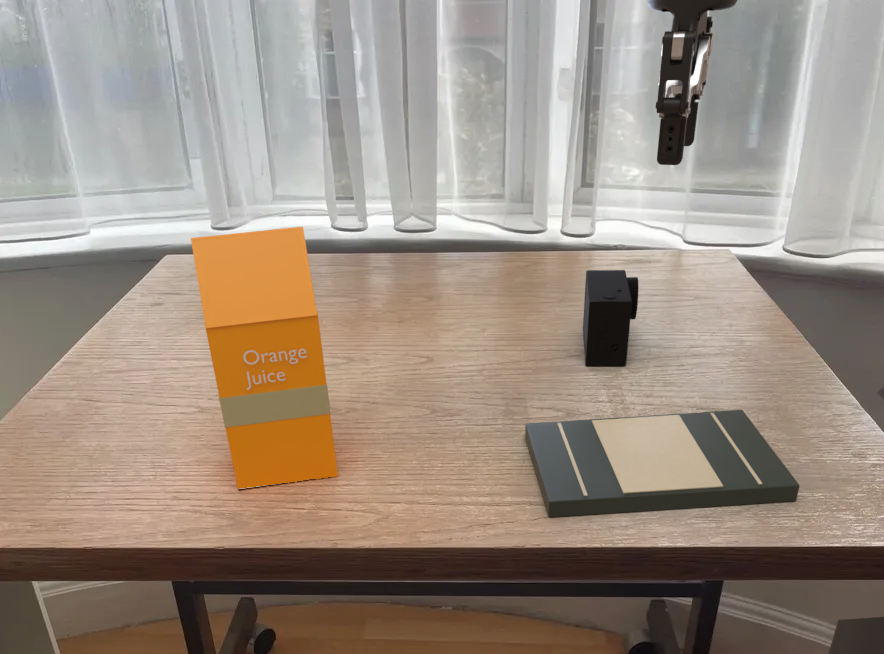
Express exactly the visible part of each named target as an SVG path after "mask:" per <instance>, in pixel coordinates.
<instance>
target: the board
mask: <svg viewBox="0 0 884 654" xmlns="http://www.w3.org/2000/svg"><path fill="white" fill-rule="evenodd" d="M524 426H525V428H524V429H525V432H524V438H525V441H526V445H527V448H528V452H529V455H530V458H531V462H532V465H533V466H532V467H533V469H534V473H535V475H536V479H537V483H538V486H539V489H540V492H541V495H542V499H543V502H544V507H545V510H546V514H547V516H548V518H562V517H563V518H564V517H578V516H592V515H607V514H624V513H636V512H638V513H639V512H651V511H652V512H654V511H668V510H683V509H697V508H698V509H699V508H712V507H714V508H715V507H727V506H728V507H729V506H743V505H757V504H758V505H759V504H772V503H773V504H774V503H790V502H797V499H798V494H799V491H800V484H799V483H798V481H797V480H796V479H795V477H794V476H793V475H792V473H791V472H790V471H789V469H788V468H787V466H786V465H785V464H784V463H783V461H782V460H781V459H780V458H779V456H778V455H777V454H776V452H775V451H774V450H773V449H772V447H771V445H770V444H769V443H768V441H767V440H766V439H765V438H764V436H763V435H762V434H761V432H760V431H759V430H758V428H757V427H756V426H755V424H754V423H753V422H752V421H751V419H750V418H749V417H748V416H747V414H746V413H745V411H744V410H743V409H731V410H715V411H702V412H700V411H698V412H685V413H684V412H683V413H670V414H669V413H667V414H654V415H638V416H624V417H623V416H622V417H621V416H619V417H606V418H605V417H604V418H591V419H575V420H560V421H545V422H528V423H525V425H524Z"/></svg>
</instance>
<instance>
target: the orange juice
mask: <svg viewBox="0 0 884 654" xmlns="http://www.w3.org/2000/svg"><path fill="white" fill-rule="evenodd" d="M190 241H191V248H192V254H193V259H194V266H195V272H196V279H197V284H198V290H199V296H200V302H201V308H202V313H203V319H204V327H205V328H204V329H205V333H206V337H207V343H208V347H209V352H210V358H211V362H212V367H213V372H214V377H215V382H216V387H217V392H218V400H219V405H220V411H221V415H222V419H223V425H224V428H225V432H226V438H227V442H228V446H229V451H230V456H231V461H232V466H233V471H234V477H235V482H236V486H237V489H238V488H247V487H256V486H263V485H273V484H281V483H288V484H290V483H289V482H295V483H298V482H297V481H302V482H304V481H303V480H309V479H316V480H322V479H321V478H324V479H329V478H328V477H331V478H337V477H339V473H338V466H337V465H338V464H337V459H336V451H335V450H336V449H335V442H334V433H333V425H332V417H331V413H332V412H331V406H330V405H331V403H330V397H329V390H328V382H327V377H326V369H325V362H324V361H325V360H324V353H323V344H322V337H321V329H320V321H319V314H318V313H319V312H318V310H317V305H316V299H315V293H314V286H313V281H312V280H313V279H312V273H311V268H310V261H309V256H308V255H309V254H308V250H307V249H308V248H307V242H306V237H305V231H304V226H295V227H285V228H277V229H274V228H273V229H266V230H255V231H246V232H238V233H237V232H236V233H225V234H217V235H208V236H207V235H206V236H197V237H190ZM309 481H310V480H309ZM281 485H282V484H281Z"/></svg>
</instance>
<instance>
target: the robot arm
mask: <svg viewBox="0 0 884 654" xmlns="http://www.w3.org/2000/svg"><path fill="white" fill-rule="evenodd" d="M737 2H738V0H647V7H648V8H649V10H651V11H653V12H659V13H660V12H661V13H665V12H667V13H668V12H669V13H670V14H671V15H672V22H671V28H670V30H669V31H667V30H666V31H664V34H663V36H662V38H661V49H660V52H661V61H660V71H659V76H658V89H657V100H656V103H655V110H656V114H658V119H660V123H659V132H658V142H657V143H658V144H657V152H656V153H657V154H656V162H657V164H658V165H661V166H678V165H680V164H681V163H682V161H683V158H684V151H685V147H690V146H692V145H693V143H694V142H695V138H696V137H695V136H696V130H697V129H696V128H697V121H698V111H699V105H700V104H699V101H701V99H702V97H703V96H704V95H703V94H704V89H705V87H706V84H707V78H708V72H709V67H710V56H711V53H712V49H713V44H714V32H711V31H712V28H713V25H714V21H713V16H708V12H713V11H723V10H727V9H728V10H729V9H730V8H733V7H734V6H735V5H736V4H737ZM671 95H672V97H670V96H671Z"/></svg>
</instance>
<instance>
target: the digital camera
mask: <svg viewBox="0 0 884 654" xmlns="http://www.w3.org/2000/svg"><path fill="white" fill-rule="evenodd" d="M584 284H585V285H584V303H583V317H582V318H583V321H582V338H583V340H582V341H583V352H584V364H585V367H625V366H627V360H628V351H629V350H628V349H629V340H630V339H629V338H630V329H631V328H630V327H631V320H636V319H637V312H638V305H639V277H638V276H627V273H626V270H625V269H614V270H613V269H595V270H594V269H593V270H592V269H588V270H586V271H585V283H584Z"/></svg>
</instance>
